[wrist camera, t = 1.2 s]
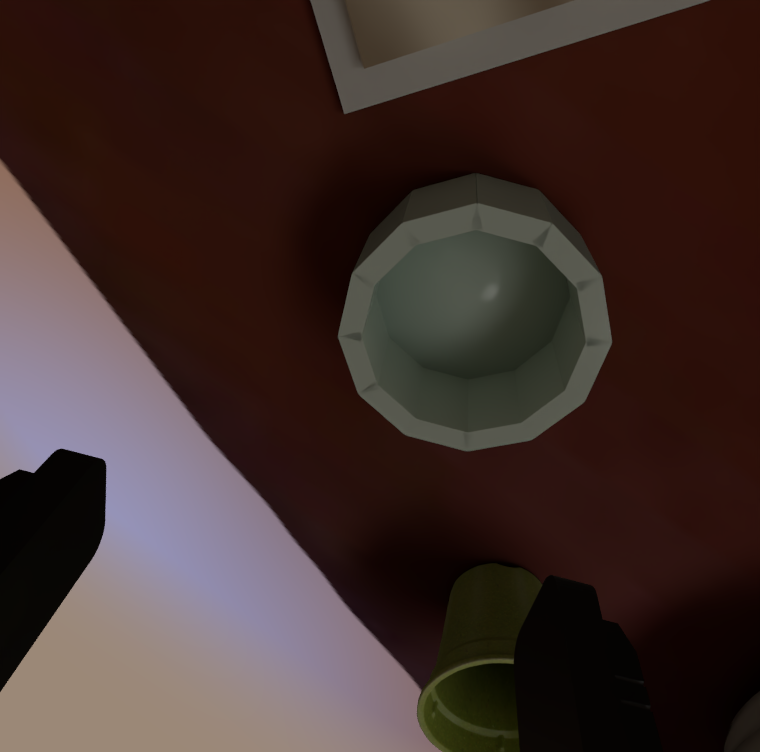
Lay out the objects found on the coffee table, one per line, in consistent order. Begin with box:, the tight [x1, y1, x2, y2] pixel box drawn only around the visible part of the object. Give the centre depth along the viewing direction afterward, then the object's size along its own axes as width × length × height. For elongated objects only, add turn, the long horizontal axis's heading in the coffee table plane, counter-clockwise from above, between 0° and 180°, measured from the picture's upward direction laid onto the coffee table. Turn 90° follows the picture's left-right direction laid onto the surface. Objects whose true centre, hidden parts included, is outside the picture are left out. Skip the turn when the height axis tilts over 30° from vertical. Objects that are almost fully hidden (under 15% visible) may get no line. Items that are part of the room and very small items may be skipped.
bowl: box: [338, 173, 612, 451], centre depth 30 cm, size 11×11×6 cm
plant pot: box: [417, 563, 542, 752], centre depth 39 cm, size 9×9×9 cm
